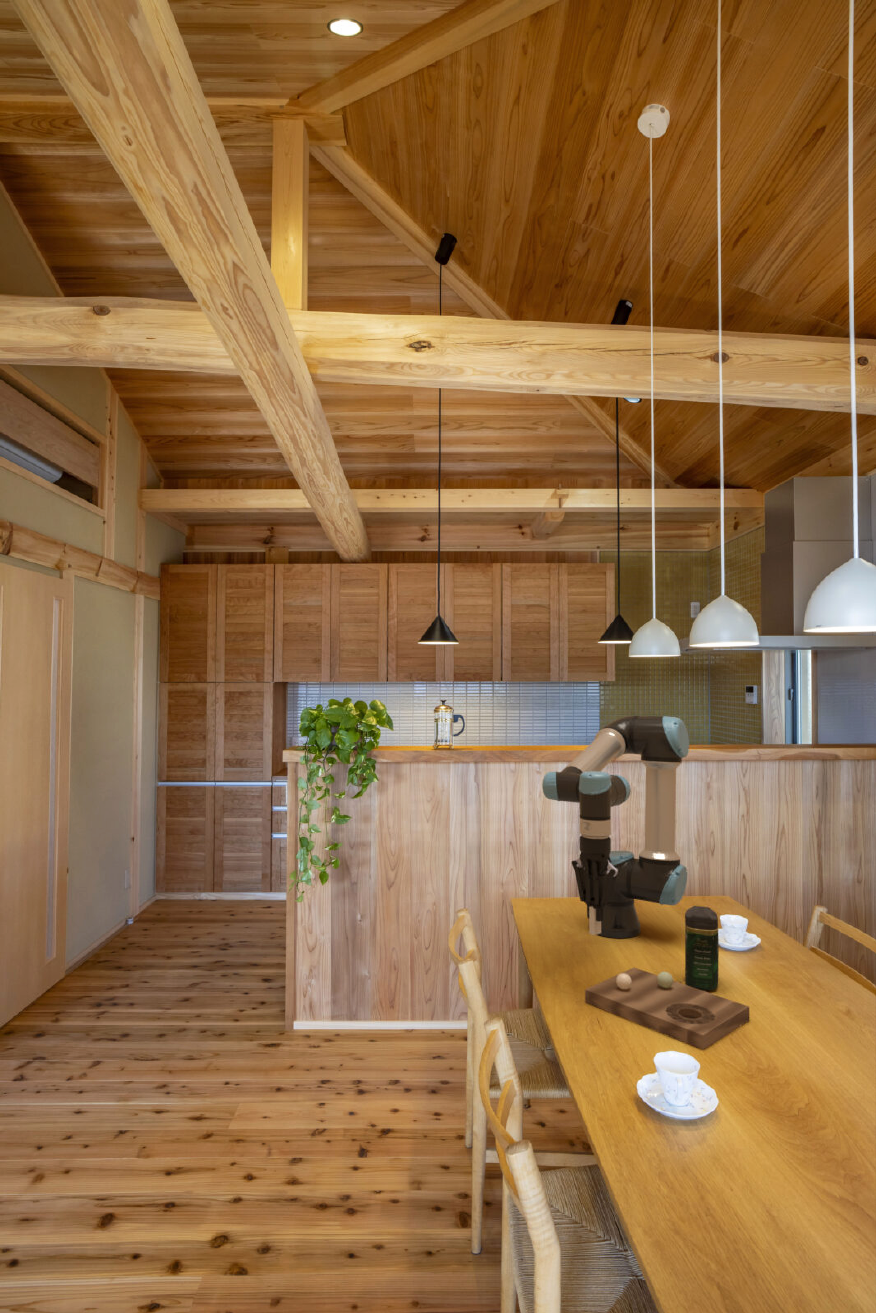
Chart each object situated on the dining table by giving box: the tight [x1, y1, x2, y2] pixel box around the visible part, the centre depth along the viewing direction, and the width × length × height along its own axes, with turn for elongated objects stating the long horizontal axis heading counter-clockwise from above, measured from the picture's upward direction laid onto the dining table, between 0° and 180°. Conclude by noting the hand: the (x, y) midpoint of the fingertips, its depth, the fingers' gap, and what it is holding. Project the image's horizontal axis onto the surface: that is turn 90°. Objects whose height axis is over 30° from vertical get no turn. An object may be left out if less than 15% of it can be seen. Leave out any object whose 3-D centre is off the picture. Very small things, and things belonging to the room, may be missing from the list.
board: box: [584, 967, 750, 1051], centre depth 172 cm, size 30×20×3 cm, turn 41°
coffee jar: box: [684, 905, 720, 992], centre depth 187 cm, size 10×8×19 cm
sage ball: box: [657, 971, 674, 988], centre depth 177 cm, size 4×4×4 cm
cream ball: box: [616, 972, 632, 990], centre depth 177 cm, size 4×4×4 cm
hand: (595, 933), depth 183 cm, fingers closed
